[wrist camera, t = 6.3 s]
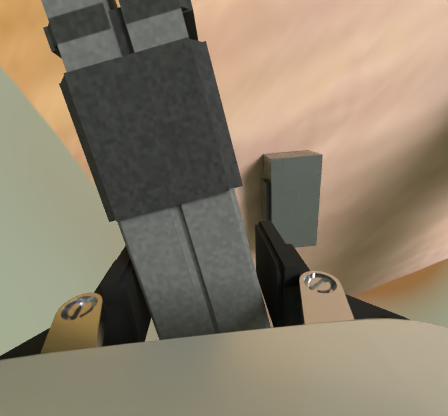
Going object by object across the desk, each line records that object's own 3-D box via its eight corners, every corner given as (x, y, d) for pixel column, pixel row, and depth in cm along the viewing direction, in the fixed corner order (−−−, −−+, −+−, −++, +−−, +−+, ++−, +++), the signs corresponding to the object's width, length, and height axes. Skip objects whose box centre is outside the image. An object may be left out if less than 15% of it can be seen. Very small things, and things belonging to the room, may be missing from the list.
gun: (220, 385, 17) (207, 663, 7) (145, 112, 16) (12, -34, 6) (282, 369, 16) (365, 628, 6) (208, 94, 16) (174, -84, 6)
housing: (307, 150, 26) (322, 154, 23) (304, 231, 29) (316, 245, 26) (259, 154, 26) (267, 159, 22) (261, 235, 29) (268, 250, 26)
